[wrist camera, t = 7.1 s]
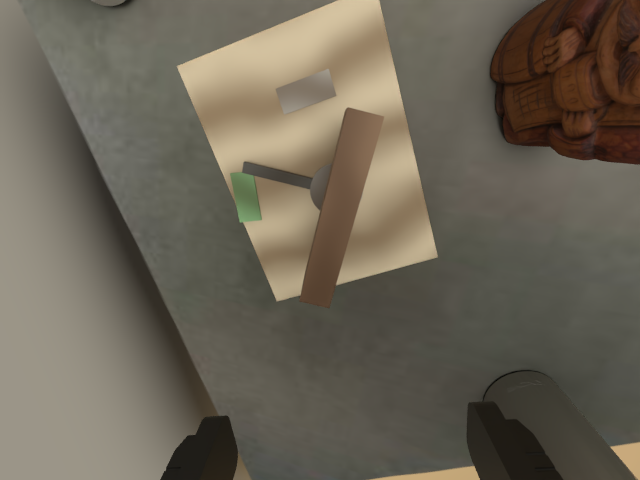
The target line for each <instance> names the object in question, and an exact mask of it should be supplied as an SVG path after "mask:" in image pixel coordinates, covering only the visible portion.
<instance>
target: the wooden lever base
mask: <svg viewBox="0 0 640 480" xmlns="http://www.w3.org/2000/svg"><path fill="white" fill-rule="evenodd" d="M177 68H178V70H179V72H180V75H181V77H182V79H183V82H184V84H185V86H186V89H187V91H188V93H189V96H190V98H191V100H192V103H193V105H194V107H195V110H196V112H197V115H198V117H199V119H200V122H201V124H202V126H203V129H204V131H205V133H206V136H207V138H208V140H209V143H210V145H211V147H212V150H213V152H214V154H215V157H216V159H217V162H218V164H219V166H220V169H221V171H222V173H223V176H224V178H225V180H226V183H227V185H228V187H229V190H230V192H231V194H232V197H233V199H234V201H235V204H236V206H237V211H238V216H239V221H240V222H243V223H244V225H245V227H246V230H247V232H248V234H249V237H250V239H251V241H252V244H253V246H254V248H255V251H256V253H257V256H258V258H259V260H260V263H261V265H262V267H263V270H264V272H265V274H266V277H267V279H268V281H269V284H270V286H271V288H272V291H273V293H274V295H275V298H276V300H277V301H280V300H284V299H288V298H291V297H295V296H299V295H301V290H302V285H303V280H304V275H305V270H306V266H307V262H308V258H309V254H310V250H311V246H312V242H313V238H314V234H315V230H316V226H317V222H318V218H319V214H320V210H319V209H318V208H317V207H316V206H315V205H314V203H313V201H312V199H311V195H310V189H306V188H302V187H298V186H294V185H290V184H286V183H281V182H277V181H273V180H269V179H265V178H261V177H257V176H253V175H249V174H245V173H242V169H243V162H245V161H246V162H250V163H254V164H258V165H262V166H266V167H270V168H274V169H278V170H282V171H286V172H290V173H294V174H298V175H302V176H306V177H310V178H313V177H314V175H315V174H316V173H317V171H318V170H319V169H320V168H322V167H323V166H325V165H328V164H331V163H332V161H333V157H334V153H335V149H336V145H337V141H338V137H339V133H340V129H341V125H342V121H343V117H344V112H345V110H346V109H347V107H349V108H353V109H357V110H361V111H365V112H369V113H373V114H376V115H380V116H384V120H383V124H382V127H381V131H380V134H379V137H378V141H377V144H376V148H375V151H374V155H373V158H372V162H371V165H370V169H369V172H368V176H367V179H366V183H365V186H364V189H363V194H362V198H361V201H360V203H359V207H358V210H357V214H356V217H355V221H354V224H353V228H352V231H351V234H350V238H349V241H348V245H347V248H346V252H345V255H344V259H343V262H342V266H341V269H340V273H339V276H338V280H337V283H336V285H339V284H342V283H346V282H349V281H353V280H357V279H360V278H364V277H368V276H371V275H375V274H378V273H382V272H386V271H389V270H393V269H397V268H400V267H404V266H407V265H411V264H415V263H418V262H422V261H426V260H429V259H433V258H437V257H438V256H437V252H436V247H435V243H434V238H433V234H432V230H431V225H430V221H429V217H428V212H427V208H426V203H425V199H424V195H423V190H422V186H421V182H420V177H419V173H418V168H417V164H416V160H415V155H414V151H413V147H412V142H411V138H410V133H409V129H408V125H407V120H406V116H405V112H404V107H403V103H402V98H401V94H400V90H399V85H398V81H397V77H396V72H395V68H394V63H393V59H392V55H391V50H390V46H389V42H388V37H387V33H386V28H385V24H384V20H383V15H382V11H381V7H380V2H379V0H338V1H336V2H333V3H331V4H328V5H326V6H323V7H321V8H318V9H316V10H314V11H311V12H309V13H306V14H304V15H301V16H299V17H296V18H294V19H292V20H289V21H287V22H284V23H282V24H279V25H277V26H274V27H272V28H269V29H267V30H265V31H262V32H260V33H257V34H255V35H252V36H250V37H247V38H245V39H243V40H240V41H238V42H235V43H233V44H230V45H228V46H225V47H223V48H220V49H218V50H216V51H213V52H211V53H208V54H206V55H203V56H201V57H198V58H196V59H194V60H191V61H189V62H186V63H184V64H181V65H179V66H177Z"/></svg>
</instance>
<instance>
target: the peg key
mask: <svg viewBox="0 0 640 480" xmlns="http://www.w3.org/2000/svg"><path fill="white" fill-rule="evenodd" d="M383 120H384V116H380V115H376V114H373V113H369V112H365V111H361V110H357V109H353V108H349V107H347V109H346V110H345V112H344V117H343V121H342V125H341V129H340V133H339V137H338V141H337V145H336V149H335V153H334V157H333V161H332V163H331V164H328V165H325V166H323V167H322V168H320V169H319V170H318V171H317V173H316V174H315V175H314V177H313V178H310V177H306V176H302V175H298V174H294V173H290V172H286V171H282V170H278V169H274V168H270V167H266V166H262V165H258V164H254V163H250V162H246V161H245V162H243V169H242V173H245V174H249V175H253V176H257V177H261V178H265V179H269V180H273V181H277V182H281V183H286V184H290V185H294V186H298V187H302V188H306V189H310V195H311V199H312V201H313V203H314V205H315V206H316V207H317V208H318V209H319V210H320V214H319V218H318V222H317V226H316V230H315V234H314V238H313V242H312V246H311V250H310V254H309V258H308V262H307V266H306V270H305V275H304V280H303V285H302V290H301V295H300V302H304V303H309V304H313V305H317V306H322V307H326V308H329V307H330V304H331V300H332V297H333V293H334V290H335V286H336V283H337V280H338V276H339V273H340V269H341V266H342V262H343V259H344V255H345V252H346V248H347V245H348V241H349V238H350V234H351V231H352V228H353V224H354V221H355V217H356V214H357V210H358V207H359V203H360V201H361V198H362V194H363V189H364V186H365V183H366V179H367V176H368V172H369V169H370V165H371V162H372V158H373V155H374V151H375V148H376V144H377V141H378V137H379V134H380V131H381V127H382V124H383Z"/></svg>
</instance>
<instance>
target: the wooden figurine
mask: <svg viewBox="0 0 640 480" xmlns="http://www.w3.org/2000/svg"><path fill="white" fill-rule="evenodd" d="M491 78H492V79H493V80H495V81H497V91H496V112H497V114H498V115H499V116H500V117H502V118H503V129H504V135H505V138H506V140H507V142H509V143H511V144H515V145H522V146H543V147H549V146H550V147H551V148H552V149H553V150H555V151H556V152H557V153H558V154H560V155H562V156H566V157H570V158H574V159H580V160H592V159H598V160H601V161H607V162H616V163H628V164H640V0H546V1H544V2H542V3H541V4H539V5H538V6H536V7H535V8H534V9H532V10H531V11H530V12H528V13H527V14H526V15H525V16H524V17H522V18H521V19H520V20H519V21H518V22H517V23H516V24H515V25H514V26H513V27H512V28H511V29H510V30H509V31H508V33H507V34H506V36H505V37H504V38H503V40H502V41H501V43H500V45H499V46H498V48H497V50H496V52H495V55H494V58H493V61H492V64H491Z"/></svg>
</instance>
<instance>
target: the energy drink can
mask: <svg viewBox="0 0 640 480" xmlns="http://www.w3.org/2000/svg"><path fill="white" fill-rule="evenodd" d="M91 1H93V2H95V3H97V4H99V5H103V6H115V5H119V4H121V3H123V2H124V1H125V0H91Z"/></svg>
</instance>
